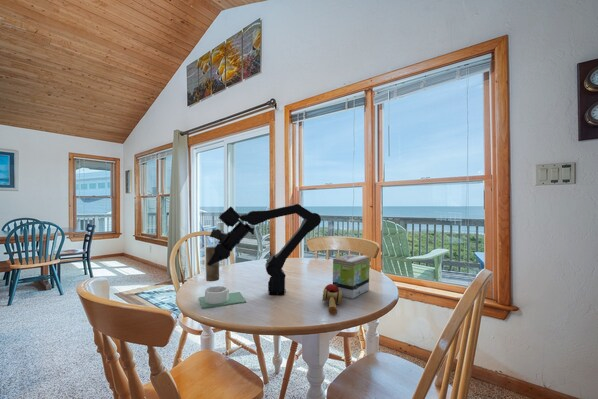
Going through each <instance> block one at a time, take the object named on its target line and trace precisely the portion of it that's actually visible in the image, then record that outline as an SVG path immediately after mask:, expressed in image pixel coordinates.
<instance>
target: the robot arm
mask: <svg viewBox="0 0 598 399" xmlns="http://www.w3.org/2000/svg"><path fill="white" fill-rule="evenodd" d="M294 214H296V215H298V217H300V218H301V219H302V222H301V223H300V225H299V228H298V229H297V230H296V231H295V233H293V235H292V236H291V238H289V240H288V241H287V242H286V243H285V244H284V246H283V247H282V248H281V249H280V250H279V251H278V252H277V253H276V254H274V253H271V255H270V256H269V257H268V258H267V259H266V263H265V268H264V269H265V270H266V273H267V275H268V276H270V277H269V280H268V281H267V282H268V283H267V284H268V286H267V289H268V290H267V291H268V295H271V296H273V295H277V296H278V295H280V296H283V295H285V294H286V291H287V289H286V274H285V271H284V269H283V267H284V265H285V263H286V260H287V259H288V258H289V256H290V255H291V254H292V253H293V252H294V250H295V249H297V246H299V244H301V242H302V241H303V239H305V237H306V236H307V235H308V234H309V233H311V232H312V231H313V230H316V228H317V227H318V226H320V225H321V222H322V217H321V216H320V214H318V212H317V213H316V212H312V211H310V210H308V209H307V208H305V207H303V206H302V205H301V204H299V203H294V204H292V205H291V204H290V205H285V206H282V207H277V208H272V209H268V210H267V209H265V210H263V209H262V210H250V211H249V212H248V213H247V214H246V213H245V214H239V213H238V212H237V211H236V210H235V209H234V207H232V206H229V208H227V209H226V210H225V211H223V212H222V213H221V214H220V215H219V217H218V219H219V220H220V221H222V223H223V224H224V225H226V226H227V227H228V228H230V227H231V228H232V229H231V230H230V231H228V232H225V231H222V229H219V228H212V230H211V231H210V234H209V237H210V238H212V239H216V240H219V241H218V243H216V245H215V246H216V247H215V248H214V252H215V253H214V255H213V256H212V258H211V259H210V261H209V262H208V263H207V265H209V266H210V265H212V264H214V263H217V262H219V263H220V262H221V261H223V260H228V258H229V257H230V256H231V252H232V251H233V250H234V248H236V246H237V245H239V244H240V243H241V241H242V240H243V239H244V238H245V237H246V236H247V235H248V234H249V233H250V234H251V235H254V234H255V227H252V226H256V225H260V224H261V223H264V222H267V221H269V220H271V219H276V218H280V217H284V216H285V217H286V216H289V215H290V216H291V215H294ZM243 222H246V223H245V224H244V223H243ZM233 227H234V228H233Z"/></svg>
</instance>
